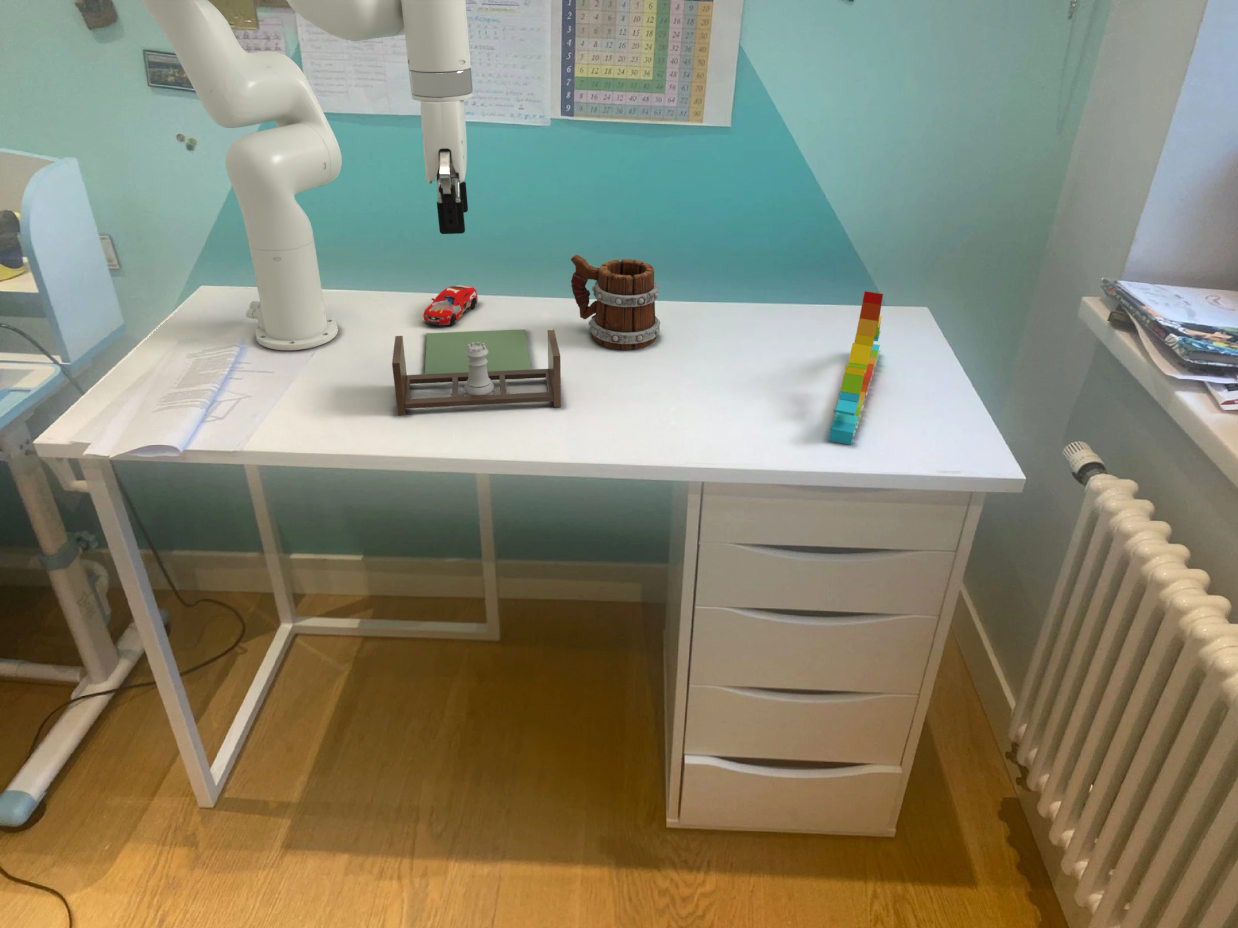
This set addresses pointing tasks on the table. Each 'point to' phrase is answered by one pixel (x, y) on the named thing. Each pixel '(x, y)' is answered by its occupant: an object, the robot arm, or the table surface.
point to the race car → (451, 305)
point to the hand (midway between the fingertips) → (454, 222)
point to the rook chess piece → (478, 371)
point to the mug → (618, 302)
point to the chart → (858, 371)
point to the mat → (502, 345)
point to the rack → (404, 380)
